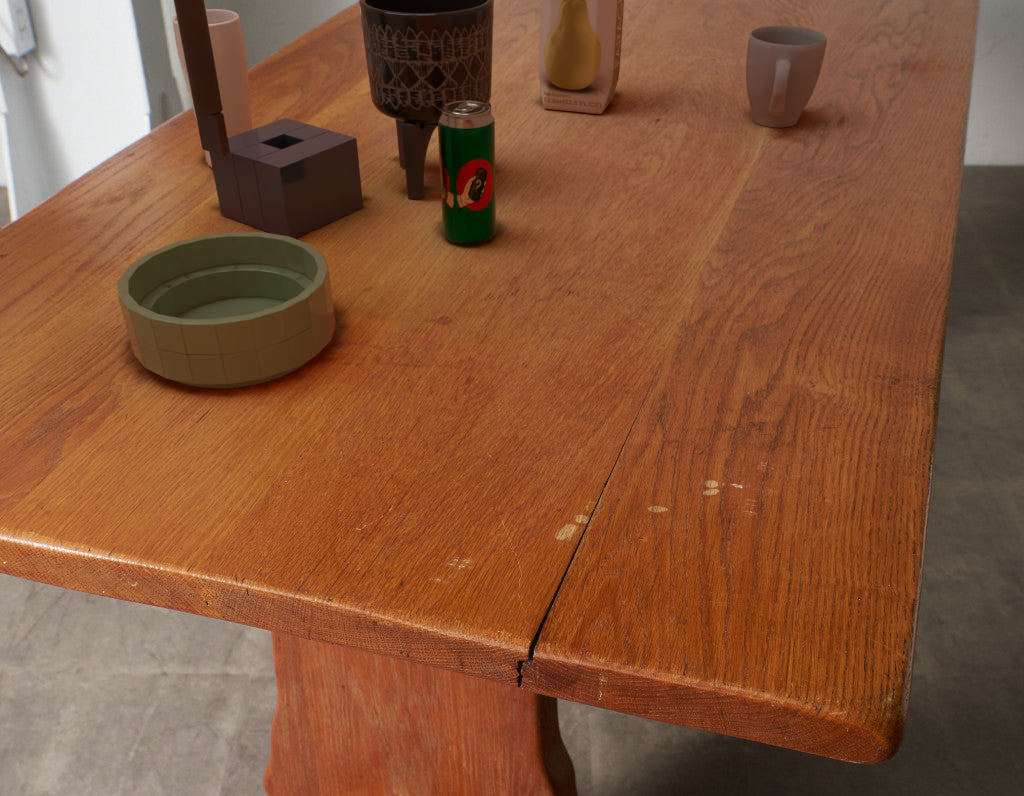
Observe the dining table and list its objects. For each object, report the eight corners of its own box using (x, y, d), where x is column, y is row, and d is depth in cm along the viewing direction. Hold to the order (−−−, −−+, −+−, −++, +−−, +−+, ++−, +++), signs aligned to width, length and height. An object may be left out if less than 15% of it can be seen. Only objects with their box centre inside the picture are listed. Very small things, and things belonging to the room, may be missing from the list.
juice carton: (534, 111, 125) (536, -115, 110) (551, 92, 131) (555, -125, 116) (607, 118, 123) (620, -111, 108) (621, 98, 129) (635, -121, 114)
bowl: (95, 353, 80) (74, 283, 76) (247, 281, 89) (235, 216, 85) (226, 420, 72) (210, 346, 68) (376, 334, 82) (369, 265, 78)
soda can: (505, 232, 97) (505, 104, 90) (478, 252, 94) (474, 120, 86) (461, 221, 99) (457, 95, 92) (432, 240, 96) (425, 111, 88)
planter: (351, 177, 108) (332, -5, 97) (447, 150, 115) (440, -24, 103) (422, 214, 101) (410, 21, 89) (520, 182, 107) (521, -1, 96)
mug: (740, 106, 127) (752, 23, 120) (812, 111, 125) (828, 27, 119) (732, 138, 118) (745, 50, 111) (810, 144, 116) (826, 55, 110)
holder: (221, 215, 100) (207, 144, 96) (295, 184, 107) (285, 117, 102) (290, 240, 96) (279, 168, 91) (363, 207, 102) (356, 137, 97)
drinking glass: (250, 177, 108) (225, 26, 99) (190, 173, 109) (159, 24, 100) (271, 155, 113) (249, 9, 104) (214, 151, 114) (187, 7, 105)
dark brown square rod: (194, 151, 76) (132, -169, 63) (216, 144, 77) (159, -172, 64) (216, 159, 74) (157, -166, 62) (237, 151, 76) (184, -169, 63)
